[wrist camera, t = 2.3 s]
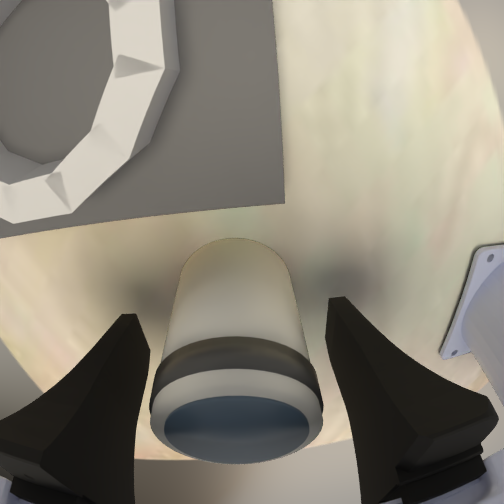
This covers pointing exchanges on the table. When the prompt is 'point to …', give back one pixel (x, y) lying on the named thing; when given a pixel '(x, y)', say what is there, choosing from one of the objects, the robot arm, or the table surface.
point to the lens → (235, 361)
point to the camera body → (136, 110)
